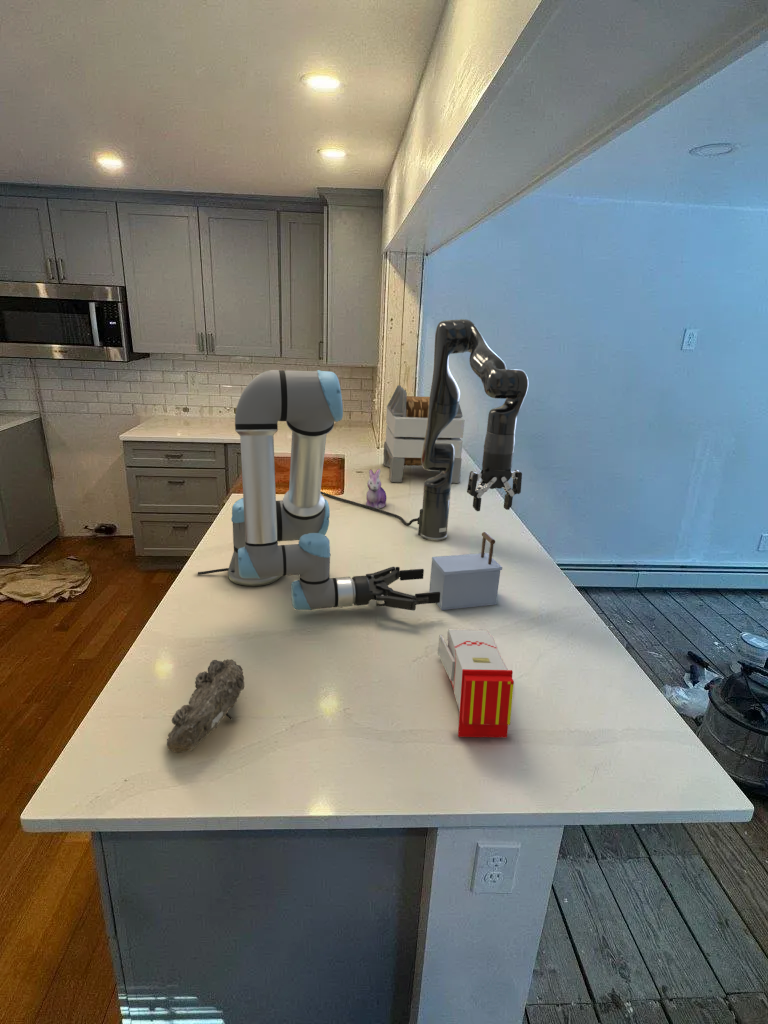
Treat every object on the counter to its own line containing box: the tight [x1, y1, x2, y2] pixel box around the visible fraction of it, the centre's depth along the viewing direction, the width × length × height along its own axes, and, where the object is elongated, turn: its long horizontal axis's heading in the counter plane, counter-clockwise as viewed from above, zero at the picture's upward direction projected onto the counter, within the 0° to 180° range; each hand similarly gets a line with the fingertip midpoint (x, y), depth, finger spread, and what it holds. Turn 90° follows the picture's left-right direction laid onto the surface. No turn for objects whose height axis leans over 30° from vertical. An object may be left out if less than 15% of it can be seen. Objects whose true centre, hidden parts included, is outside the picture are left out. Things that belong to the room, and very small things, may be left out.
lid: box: [431, 531, 503, 575], centre depth 152 cm, size 16×10×8 cm, turn 106°
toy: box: [437, 628, 515, 738], centre depth 117 cm, size 12×13×30 cm
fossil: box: [166, 658, 245, 754], centre depth 106 cm, size 22×10×15 cm
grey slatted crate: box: [383, 384, 465, 484], centre depth 268 cm, size 34×33×41 cm
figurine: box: [365, 468, 387, 509], centre depth 224 cm, size 9×10×15 cm
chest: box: [428, 559, 501, 611], centre depth 155 cm, size 16×10×10 cm, turn 106°
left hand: (431, 585), depth 151 cm, fingers open, 13 cm apart
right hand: (491, 509), depth 150 cm, fingers open, 8 cm apart
